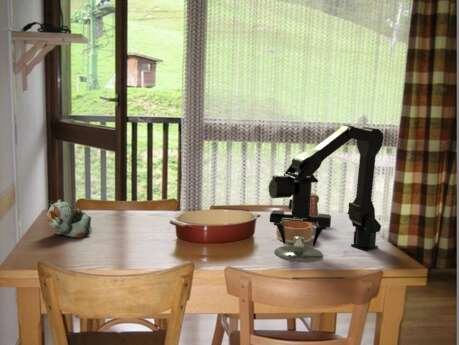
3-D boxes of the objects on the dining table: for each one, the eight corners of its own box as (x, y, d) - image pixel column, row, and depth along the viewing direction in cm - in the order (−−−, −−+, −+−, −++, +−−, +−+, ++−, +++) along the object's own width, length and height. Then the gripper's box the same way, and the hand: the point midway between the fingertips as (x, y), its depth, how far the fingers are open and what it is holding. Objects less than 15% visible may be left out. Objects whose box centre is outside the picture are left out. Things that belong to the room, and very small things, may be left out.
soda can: (312, 225, 201) (314, 192, 198) (313, 230, 194) (316, 196, 191) (294, 224, 201) (295, 191, 199) (294, 229, 194) (296, 195, 192)
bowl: (318, 239, 182) (319, 225, 182) (293, 245, 175) (294, 230, 174) (294, 231, 192) (294, 218, 191) (269, 236, 184) (270, 222, 184)
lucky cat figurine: (91, 239, 175) (71, 206, 168) (58, 252, 175) (36, 220, 169) (94, 215, 188) (76, 184, 181) (63, 227, 188) (44, 196, 182)
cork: (318, 224, 202) (320, 196, 200) (302, 223, 203) (304, 195, 201) (319, 220, 208) (320, 193, 206) (303, 219, 209) (305, 192, 207)
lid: (332, 257, 165) (333, 239, 164) (298, 266, 156) (299, 247, 155) (298, 245, 177) (299, 228, 176) (264, 252, 168) (265, 235, 167)
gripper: (332, 193, 169) (329, 240, 172) (275, 189, 173) (272, 235, 176) (332, 200, 159) (328, 250, 161) (270, 196, 162) (268, 245, 165)
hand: (298, 244), depth 166 cm, fingers open, 9 cm apart
